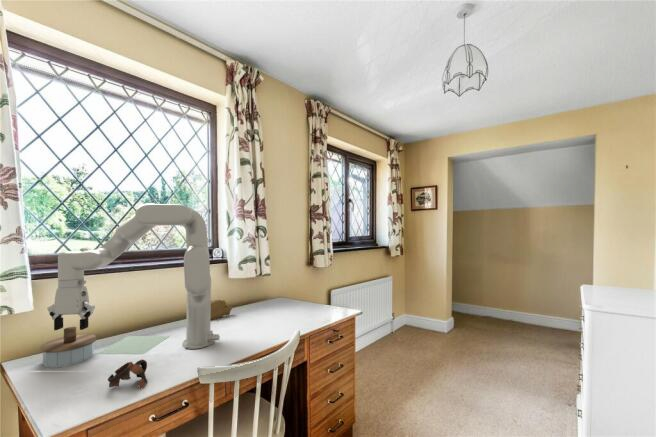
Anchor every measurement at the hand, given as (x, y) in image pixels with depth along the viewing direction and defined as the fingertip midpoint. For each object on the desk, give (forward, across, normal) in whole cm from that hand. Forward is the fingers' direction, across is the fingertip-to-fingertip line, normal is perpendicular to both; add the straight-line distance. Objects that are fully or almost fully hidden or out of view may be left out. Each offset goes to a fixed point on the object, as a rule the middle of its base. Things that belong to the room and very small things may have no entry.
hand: (71, 328), depth 114 cm
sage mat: (+12, -15, -14) cm, 24 cm away
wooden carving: (+13, -35, -52) cm, 64 cm away
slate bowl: (+12, +1, 0) cm, 12 cm away
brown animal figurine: (+12, -35, +18) cm, 41 cm away
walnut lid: (+6, 0, 0) cm, 6 cm away
